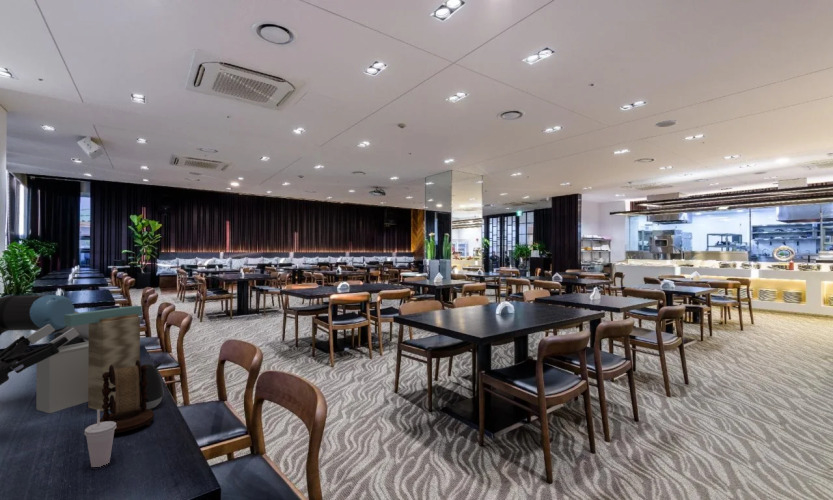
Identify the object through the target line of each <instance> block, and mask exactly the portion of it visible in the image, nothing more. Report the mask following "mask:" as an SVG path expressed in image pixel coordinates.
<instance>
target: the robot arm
mask: <svg viewBox="0 0 833 500" xmlns="http://www.w3.org/2000/svg"><path fill="white" fill-rule="evenodd" d="M74 313H80V312H78V311H76V310H75V305H74V304H73V302H72V300H71V299H70V298H68V297H66V296H65V295H64V296H63V295H58V294H48V295H46V294H45V295H7V296H3V297H0V336H1V335H2V334H3V333H6V332H7V331H8V332H9V331H34V332H32V333H31V334H29V335H28V336H26V337H25V336H24V335H22V336H20V337H19V338H17V339H16V340H14V341H13V342H12V343H11V344H9V345H8V346H7V347H6V348H5V349H3V350H2V351H1V352H0V386H2V385H3V384H4V383H7V381H9V380H10V376H9V374H10V373H11V372H13V371H14V372H15V373H16V374H19V373H22V371H25V370H26V369H28V368H29V367H32V366H34V365H37V363H38V362H40V361H42V360H44V359H46V358H48V357H51V356H53V355H55V354H57V353H58V352H59V350H58V348H60V347H62V346H67V345H73V344H78V343H83V342H89V324H84V325H77V326H64V315H66V314H74ZM50 334H52V335H53V338H54V339H52V340H51V341H50V342H49V344H46V345H44V346H41V347H39V348H36V349H33V350H31V351H27V352H25V350H26V349H28V347H29V346H30V345H34V344H36V343H37V342H39V341H40V340H42V339H44V338H45V337H47V336H49V335H50Z"/></svg>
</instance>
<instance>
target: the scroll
mask: <svg viewBox="0 0 833 500" xmlns="http://www.w3.org/2000/svg"><path fill="white" fill-rule="evenodd" d="M146 370H147V366H146V365H144V364H141V360H140V361H139V360H137V361H136V364H135V366H131V367H126V368H121V369H115V370H114V367H113V365H110V367H109V372H105V373H103V375H102V377H103V378H104V379H103V381H104V384H103V387H104V388H103V389H102V394H103V396H104V399H103V402H104V404H103V405H102V408H103V409H104V410H103V411H102V412H103V414H102V418H101V417H100V422H106V421H113V422H116V429H115V430H114V434H117V433H123V432H128V431H132V430H135V429H138V428H141V427H143V426H146V427H149V426H150V424H151V422H152V421H153V420H154V419H155V412H154V411H153V410H152V409H150V410H149V409H146V407H147V405H146V403H145V402H146V400H145V399H146V398H147V394H145V393H146V392H147V391H146V388H145V387H146V385H147V384H148V381H147V380H146V378H147V376H146V372H147V371H146ZM141 371H142V372H141ZM141 373H142V375H141ZM140 377H141V379H142V380H141V381H140V382H139V378H140ZM109 379H110V382H111V383H112V384H113V385H114V386H115V387H113V388H112V389H111V388H109V382H108V380H109ZM139 386H141V388H142V390H141V391H140V390H139ZM111 391H112V392H115V391H116V401H115V400H114V396H113V395H111V396H110V399H109V397H108V395H109V393H111ZM141 394H142V395H141ZM108 402H109V403H108ZM109 407H110V409H108V408H109ZM139 407H140V408H139ZM109 411H110V413H109ZM96 423H97V421H96V422H95V423H94V424H96Z"/></svg>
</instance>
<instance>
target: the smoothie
mask: <svg viewBox="0 0 833 500" xmlns="http://www.w3.org/2000/svg"><path fill="white" fill-rule="evenodd" d="M100 414H101V411H100V409H98V410H96V422H97V423H96V422H95V423H96V424H95V423H94V424H90V425H89V426H87V427H86V428H85V429H84V436H86V441H87V449H88V456H89V460H90V467H91V468H92V467H100V468H102V467H101V466H103V465H105V466H107V465H108V463H109V464H110V461H111V454H112V451H113V450H112V448H113V442H114V437H115V436H114V435H115V433H114V430H115V429H116V422H113V421H106V422H100V419H101V415H100ZM106 464H107V465H106ZM103 467H104V466H103Z"/></svg>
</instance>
